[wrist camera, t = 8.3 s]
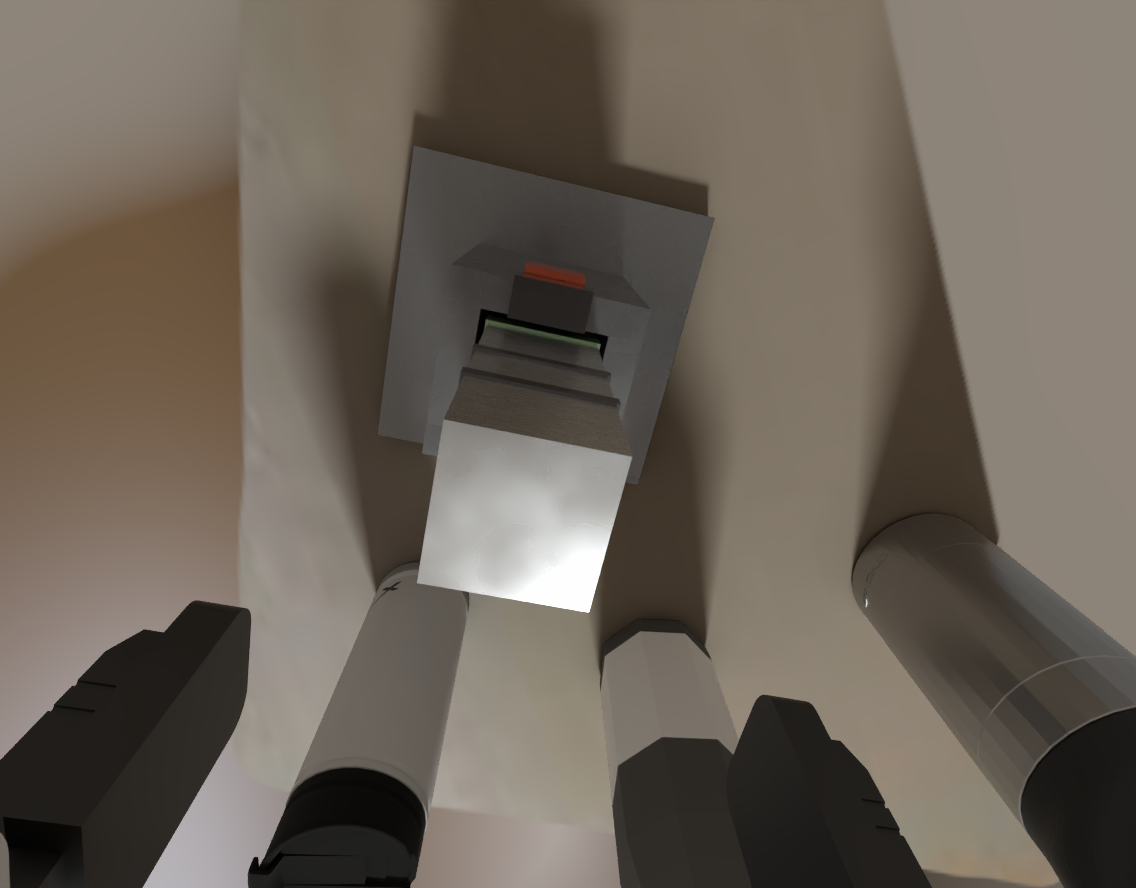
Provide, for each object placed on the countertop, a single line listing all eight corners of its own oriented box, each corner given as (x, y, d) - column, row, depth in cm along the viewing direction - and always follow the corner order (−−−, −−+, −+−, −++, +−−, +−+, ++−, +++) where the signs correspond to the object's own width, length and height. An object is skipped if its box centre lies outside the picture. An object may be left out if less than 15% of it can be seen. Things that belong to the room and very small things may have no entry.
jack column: (590, 314, 32) (637, 453, 15) (570, 402, 33) (591, 616, 17) (498, 294, 31) (439, 414, 15) (481, 384, 33) (412, 585, 16)
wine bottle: (693, 601, 45) (925, 1267, 17) (719, 688, 48) (955, 1380, 20) (582, 633, 46) (633, 1321, 18) (614, 716, 49) (702, 1423, 21)
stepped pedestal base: (708, 216, 36) (791, 230, 24) (634, 475, 42) (670, 595, 29) (419, 147, 34) (346, 123, 22) (383, 426, 40) (309, 531, 28)
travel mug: (373, 555, 43) (239, 832, 25) (472, 564, 44) (416, 842, 25) (371, 632, 45) (248, 939, 27) (466, 640, 46) (410, 948, 27)
